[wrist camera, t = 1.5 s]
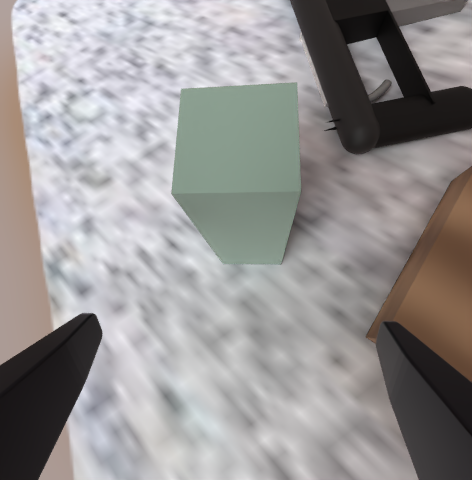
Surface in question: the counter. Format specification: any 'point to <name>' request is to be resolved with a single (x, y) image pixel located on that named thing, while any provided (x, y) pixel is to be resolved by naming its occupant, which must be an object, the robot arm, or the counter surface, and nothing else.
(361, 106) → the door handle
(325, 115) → the counter surface
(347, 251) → the counter surface
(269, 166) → the green post
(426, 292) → the walnut base
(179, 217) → the counter surface
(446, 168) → the counter surface
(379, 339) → the robot arm
